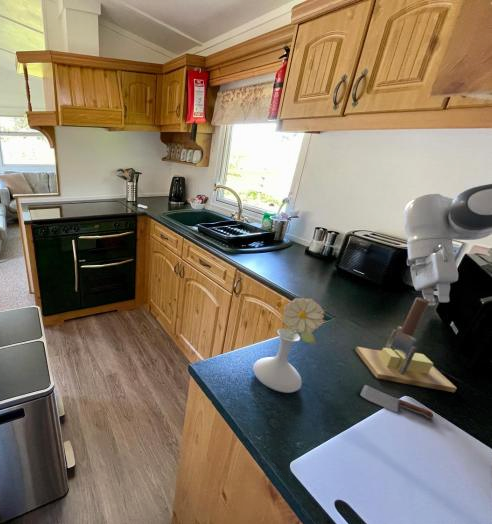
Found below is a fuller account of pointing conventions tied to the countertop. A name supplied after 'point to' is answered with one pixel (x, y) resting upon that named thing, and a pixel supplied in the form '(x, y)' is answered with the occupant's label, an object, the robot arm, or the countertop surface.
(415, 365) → the butter block
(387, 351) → the butter slice
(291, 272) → the countertop surface
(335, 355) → the countertop surface
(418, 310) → the knife
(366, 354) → the butter board
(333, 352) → the countertop surface
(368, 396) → the cleaver
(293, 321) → the flower in vase
